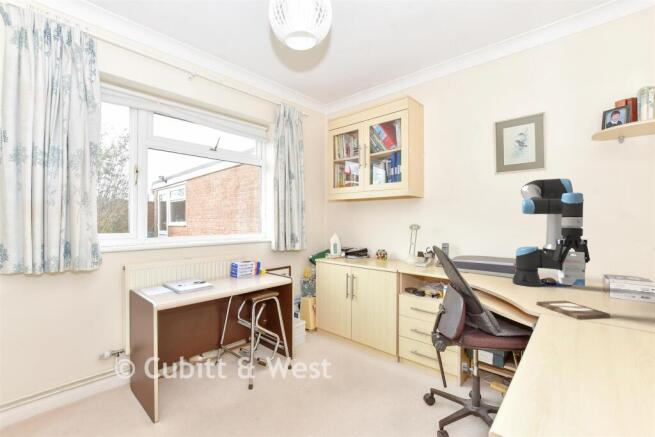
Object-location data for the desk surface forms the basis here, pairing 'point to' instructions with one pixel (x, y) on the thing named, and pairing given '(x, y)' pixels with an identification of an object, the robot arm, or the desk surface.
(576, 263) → the ink box
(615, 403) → the desk surface
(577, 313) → the stand board
